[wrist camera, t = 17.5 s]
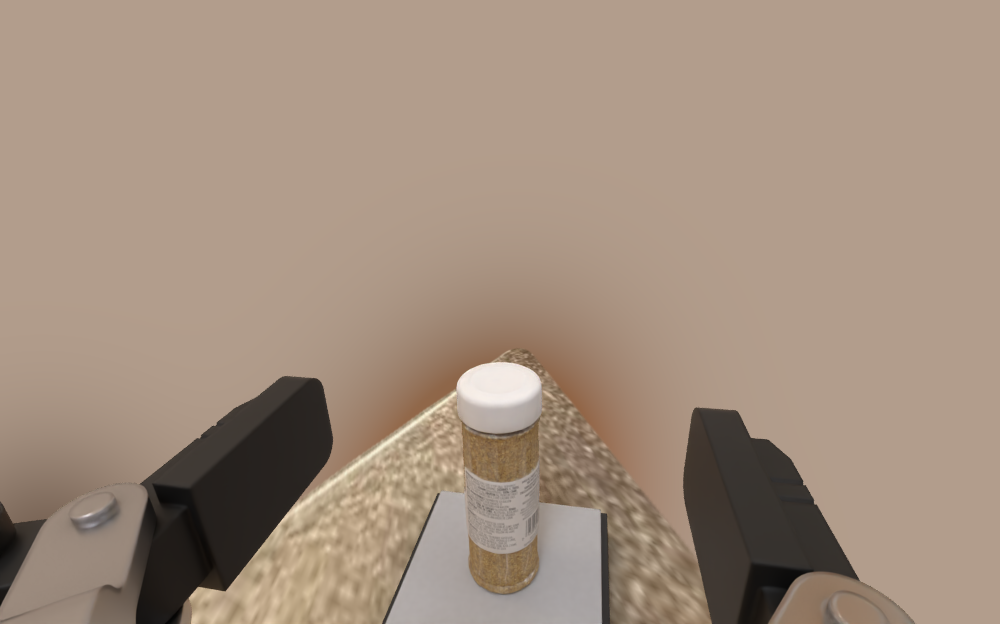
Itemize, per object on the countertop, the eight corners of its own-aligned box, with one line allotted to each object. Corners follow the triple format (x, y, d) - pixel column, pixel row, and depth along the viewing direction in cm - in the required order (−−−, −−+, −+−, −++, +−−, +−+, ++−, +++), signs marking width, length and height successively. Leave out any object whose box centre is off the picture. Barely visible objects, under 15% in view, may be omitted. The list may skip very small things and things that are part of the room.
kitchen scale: (605, 531, 36) (607, 500, 35) (609, 741, 24) (613, 703, 23) (440, 510, 39) (438, 481, 37) (368, 691, 26) (361, 655, 25)
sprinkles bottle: (497, 526, 33) (491, 352, 28) (553, 558, 30) (558, 373, 26) (452, 572, 30) (437, 384, 25) (511, 613, 27) (508, 412, 22)
